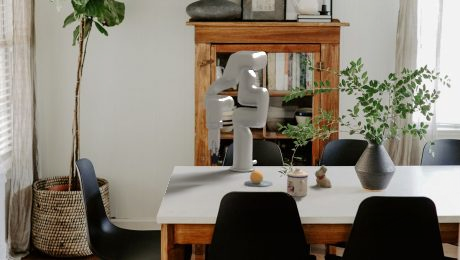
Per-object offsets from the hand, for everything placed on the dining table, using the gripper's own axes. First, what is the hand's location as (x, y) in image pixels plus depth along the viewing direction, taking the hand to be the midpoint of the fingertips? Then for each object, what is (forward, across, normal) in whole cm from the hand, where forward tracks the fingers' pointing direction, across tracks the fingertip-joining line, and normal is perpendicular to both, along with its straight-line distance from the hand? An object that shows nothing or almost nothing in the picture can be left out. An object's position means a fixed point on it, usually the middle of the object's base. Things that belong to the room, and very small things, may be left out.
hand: (214, 163), depth 320 cm
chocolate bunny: (+10, +4, +50) cm, 51 cm away
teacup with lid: (+9, +23, +37) cm, 44 cm away
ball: (+6, +2, +19) cm, 20 cm away
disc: (+9, +2, +20) cm, 22 cm away
